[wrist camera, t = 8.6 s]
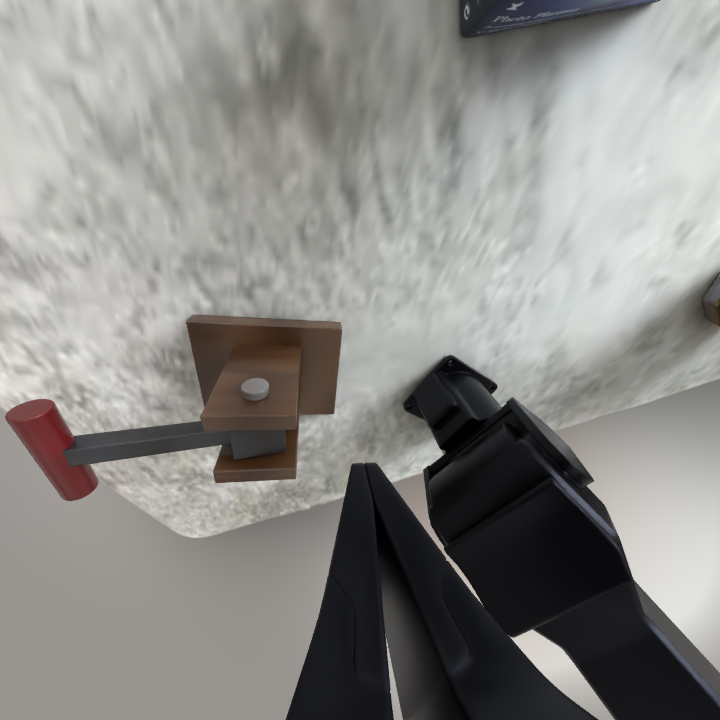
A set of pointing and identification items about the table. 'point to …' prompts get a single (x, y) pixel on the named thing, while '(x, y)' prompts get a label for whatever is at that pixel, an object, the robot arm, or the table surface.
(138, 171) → the table surface
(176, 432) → the crank
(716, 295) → the ceramic cup
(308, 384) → the bracket
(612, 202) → the table surface
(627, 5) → the small box
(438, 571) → the robot arm
